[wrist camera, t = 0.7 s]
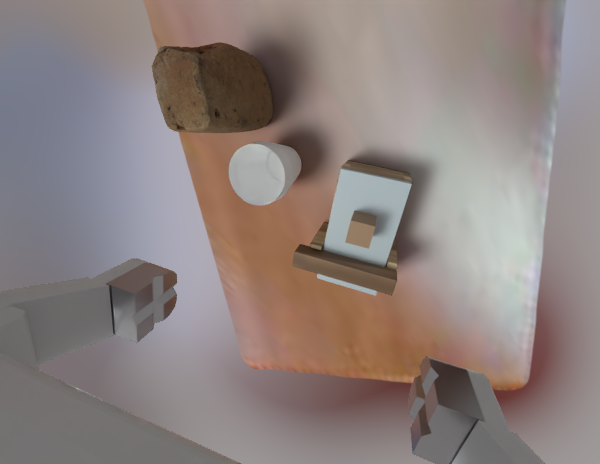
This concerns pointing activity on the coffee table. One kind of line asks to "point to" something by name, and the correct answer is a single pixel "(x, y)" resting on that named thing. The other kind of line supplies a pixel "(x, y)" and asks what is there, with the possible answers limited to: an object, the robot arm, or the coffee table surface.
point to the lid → (364, 219)
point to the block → (211, 89)
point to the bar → (345, 269)
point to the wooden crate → (321, 234)
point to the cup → (263, 171)
